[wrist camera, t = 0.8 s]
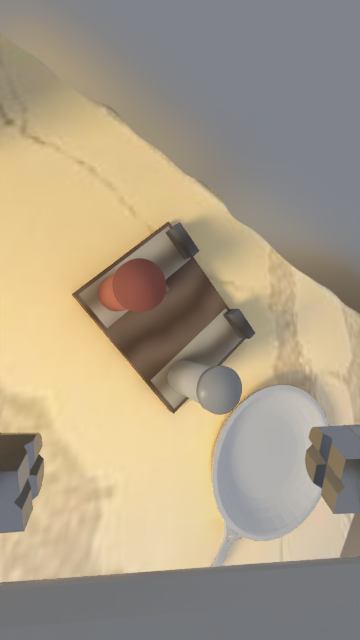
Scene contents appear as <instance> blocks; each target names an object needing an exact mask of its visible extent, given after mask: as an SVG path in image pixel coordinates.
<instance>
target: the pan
mask: <svg viewBox="0 0 360 640" xmlns="http://www.w3.org/2000/svg"><path fill="white" fill-rule="evenodd" d="M321 426H329V424H328V421H327V419H326V416H325V414H324V412H323V410H322V409H321V407H320V406H319V404H318V403H317V401H316V400H315V399H314V398H313V397H312V396H310V395H309V394H308V393H307V392H305V391H303V390H301V389H300V388H297V387H293V386H290V385H274V386H270V387H266V388H263V389H261V390H259V391H257V392H255V393H253V394H252V395H251V396H249V397H248V398H247V399H246V400H244V401H243V402H242V403H241V404H240V405H238V406H237V407H236V409H235V410H234V411H233V412H232V413H231V414H230V415H229V417H228V418H227V420H226V422H225V423H224V425H223V427H222V428H221V431H220V433H219V436H218V438H217V441H216V444H215V449H214V453H213V462H212V477H211V478H212V488H213V495H214V498H215V502H216V505H217V508H218V510H219V512H220V514H221V516H222V518H223V519H224V539H223V542H222V545H221V547H220V550H219V552H218V554H217V557H216V559H215V561H214V563H213V565H212V567H218V566H222V564H223V562H224V560H225V557H226V555H227V552H228V549H229V548H230V546H231V545H232V543H233V542H234V541H235V540H237V539H239V538H242V537H244V538H248V539H251V540H255V541H269V540H273V539H277V538H280V537H282V536H284V535H286V534H288V533H290V532H292V531H293V530H294V529H295V528H297V527H298V526H299V525H300V524H302V522H303V521H304V520H305V519H306V518H307V517H308V516H309V515H310V514H311V512H312V511H313V509H314V508H315V506H316V505H317V503H318V501H319V499H320V497H321V491H322V488H320V487H319V486H317V485H316V484H314V483H313V482H312V480H311V479H310V477H309V475H308V473H307V470H306V464H305V456H306V450H307V449H308V448H309V447H310V446H311V445H312V443H311V442H310V440H309V433H310V430H311V429H312V427H321ZM234 531H235V532H234ZM229 535H230V536H231V538H230V539H229V540H228V536H229Z"/></svg>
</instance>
